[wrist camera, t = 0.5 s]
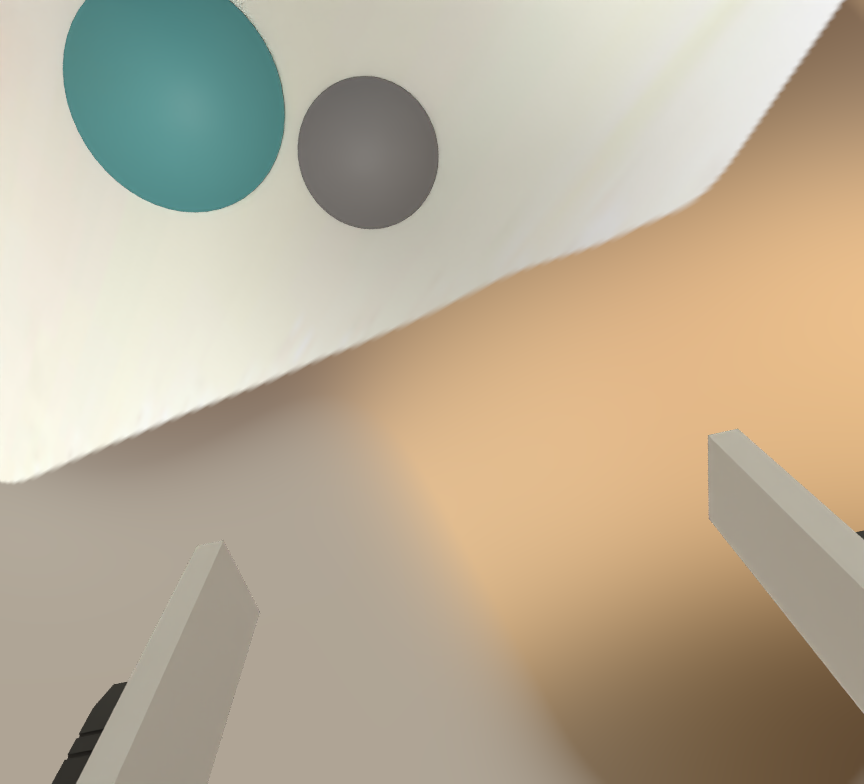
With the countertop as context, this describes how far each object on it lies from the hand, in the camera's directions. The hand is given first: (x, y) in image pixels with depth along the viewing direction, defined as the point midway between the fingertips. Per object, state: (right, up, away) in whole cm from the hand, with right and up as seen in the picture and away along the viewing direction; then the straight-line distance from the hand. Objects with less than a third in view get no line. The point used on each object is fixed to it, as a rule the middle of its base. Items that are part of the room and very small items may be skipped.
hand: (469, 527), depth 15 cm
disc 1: (-17, +22, +19) cm, 33 cm away
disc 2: (-5, +19, +20) cm, 28 cm away
